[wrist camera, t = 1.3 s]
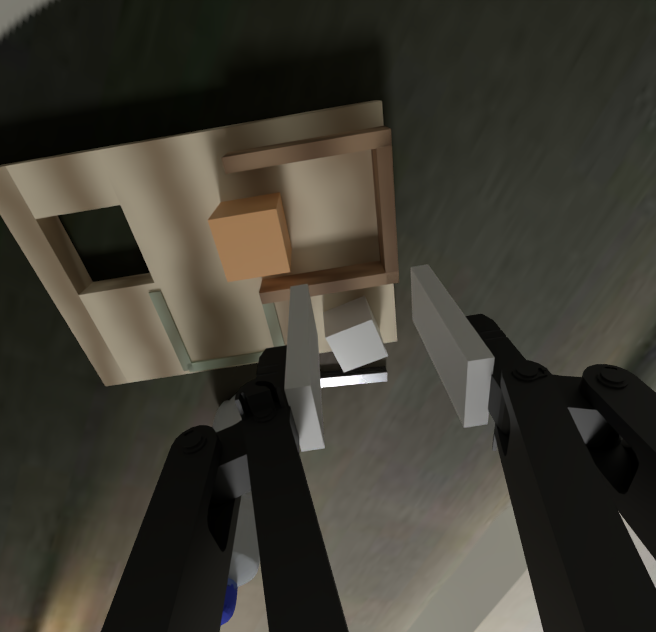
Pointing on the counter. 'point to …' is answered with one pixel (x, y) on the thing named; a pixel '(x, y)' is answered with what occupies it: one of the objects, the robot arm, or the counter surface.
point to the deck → (196, 241)
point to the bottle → (239, 526)
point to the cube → (252, 237)
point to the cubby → (384, 201)
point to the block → (353, 334)
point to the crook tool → (353, 376)
